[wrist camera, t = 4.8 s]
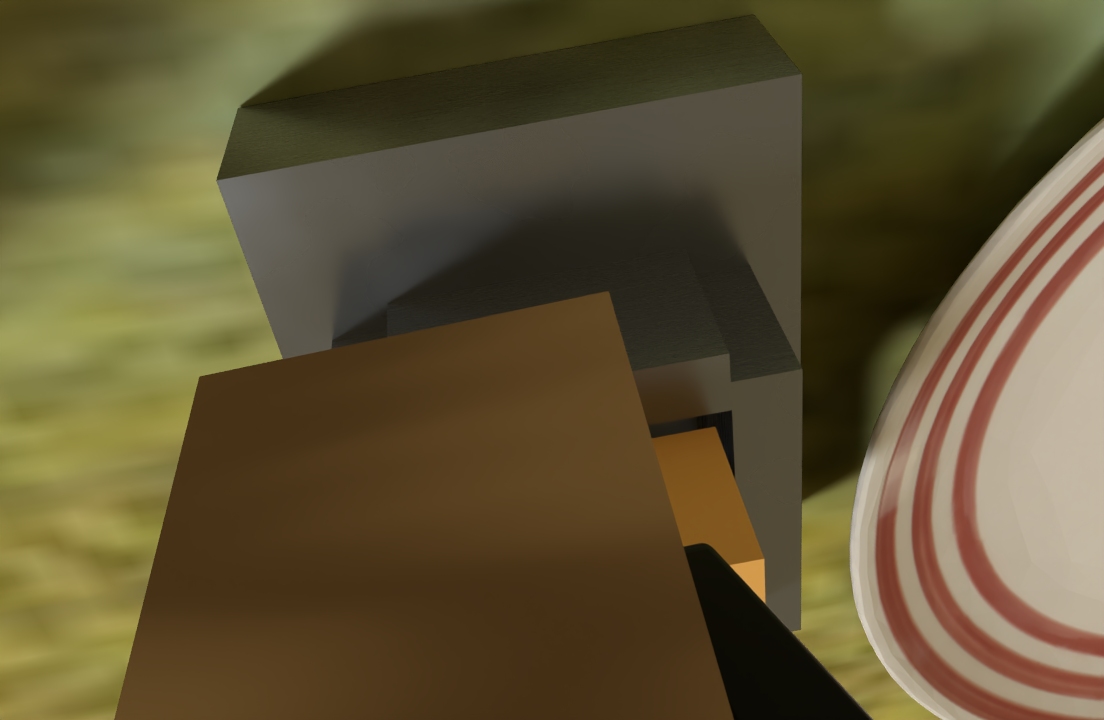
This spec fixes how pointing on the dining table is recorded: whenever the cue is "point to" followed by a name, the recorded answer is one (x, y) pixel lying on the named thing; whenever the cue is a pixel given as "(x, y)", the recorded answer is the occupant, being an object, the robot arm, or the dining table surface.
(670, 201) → the box
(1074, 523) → the dinner plate
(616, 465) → the brown wooden block
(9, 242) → the dining table surface
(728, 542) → the orange square block
